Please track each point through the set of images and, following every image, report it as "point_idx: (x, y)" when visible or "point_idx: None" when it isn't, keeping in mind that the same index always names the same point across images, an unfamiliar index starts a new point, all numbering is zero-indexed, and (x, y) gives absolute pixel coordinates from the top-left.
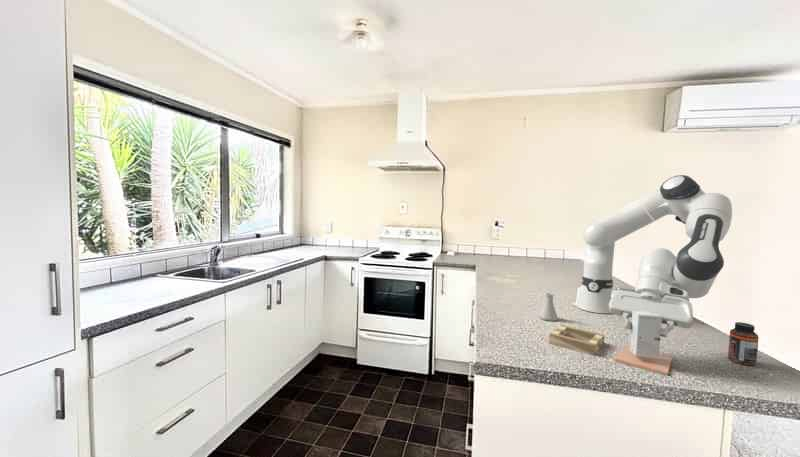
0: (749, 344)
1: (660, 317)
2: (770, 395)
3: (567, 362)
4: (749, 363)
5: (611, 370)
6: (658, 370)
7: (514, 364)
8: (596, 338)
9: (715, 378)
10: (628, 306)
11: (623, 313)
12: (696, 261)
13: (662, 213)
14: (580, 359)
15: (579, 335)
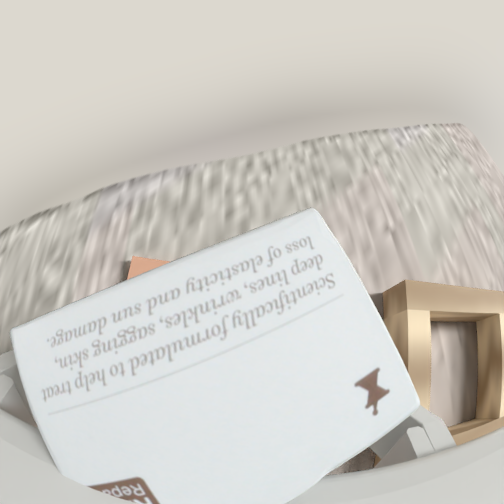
0: None
1: (28, 325)
2: None
3: (405, 185)
4: None
5: (306, 194)
6: (160, 261)
7: (443, 131)
8: (419, 388)
9: (6, 339)
10: (472, 499)
11: (446, 434)
12: None
13: None
14: (395, 226)
15: (456, 428)
